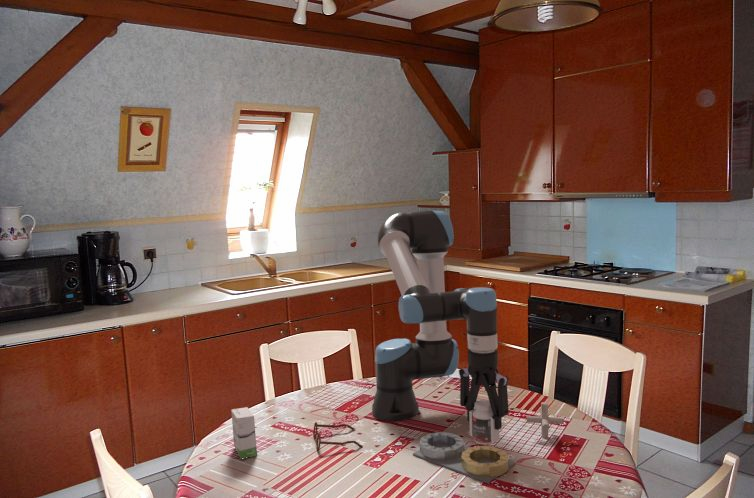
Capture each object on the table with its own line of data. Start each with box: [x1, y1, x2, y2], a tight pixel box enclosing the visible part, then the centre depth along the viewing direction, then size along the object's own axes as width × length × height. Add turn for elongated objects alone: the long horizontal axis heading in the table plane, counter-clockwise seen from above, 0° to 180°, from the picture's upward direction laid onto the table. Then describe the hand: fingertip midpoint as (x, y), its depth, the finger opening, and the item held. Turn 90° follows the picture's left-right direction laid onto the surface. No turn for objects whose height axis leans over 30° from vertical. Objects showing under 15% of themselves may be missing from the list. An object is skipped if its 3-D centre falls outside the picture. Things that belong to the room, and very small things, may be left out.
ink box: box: [231, 406, 258, 460], centre depth 167 cm, size 9×5×12 cm, turn 26°
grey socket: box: [419, 431, 465, 461], centre depth 162 cm, size 12×12×2 cm
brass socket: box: [461, 445, 509, 477], centre depth 153 cm, size 12×12×2 cm
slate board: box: [412, 444, 516, 484], centre depth 158 cm, size 24×13×1 cm, turn 46°
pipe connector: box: [526, 401, 564, 439], centre depth 169 cm, size 10×10×10 cm
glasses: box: [312, 421, 364, 452], centre depth 172 cm, size 13×13×5 cm
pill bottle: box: [472, 399, 493, 446], centre depth 151 cm, size 6×6×10 cm
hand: (484, 437), depth 152 cm, fingers closed on pill bottle, 6 cm apart
